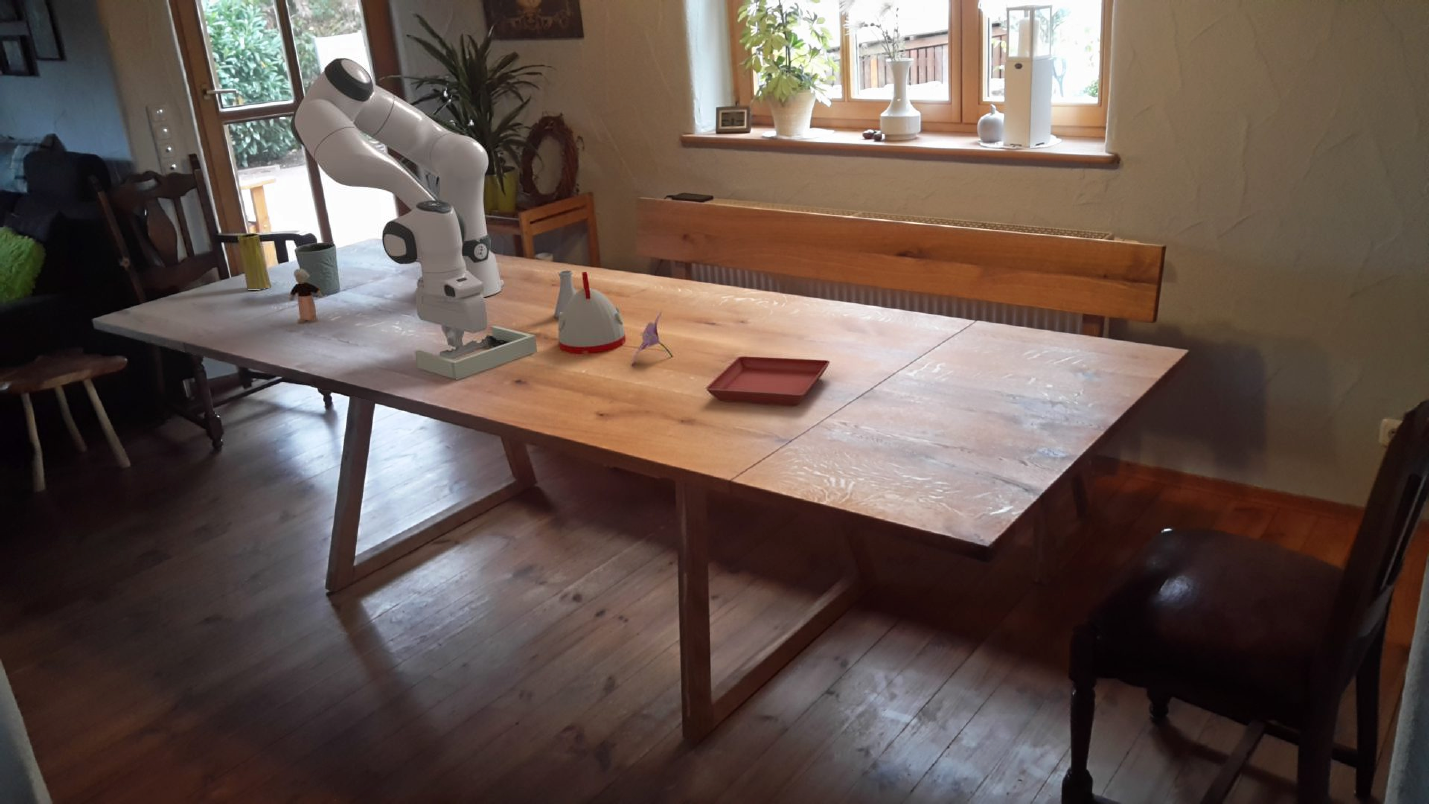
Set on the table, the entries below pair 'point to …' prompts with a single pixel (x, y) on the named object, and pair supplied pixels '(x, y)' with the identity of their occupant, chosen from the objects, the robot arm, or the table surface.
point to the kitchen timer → (590, 323)
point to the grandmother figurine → (305, 296)
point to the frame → (480, 355)
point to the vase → (253, 261)
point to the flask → (564, 291)
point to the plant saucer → (767, 380)
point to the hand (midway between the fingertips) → (455, 346)
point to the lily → (650, 337)
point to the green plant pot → (320, 266)
